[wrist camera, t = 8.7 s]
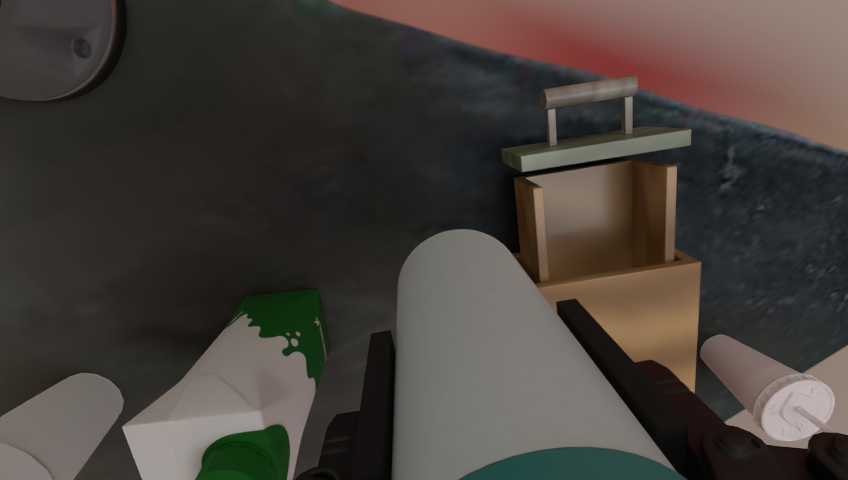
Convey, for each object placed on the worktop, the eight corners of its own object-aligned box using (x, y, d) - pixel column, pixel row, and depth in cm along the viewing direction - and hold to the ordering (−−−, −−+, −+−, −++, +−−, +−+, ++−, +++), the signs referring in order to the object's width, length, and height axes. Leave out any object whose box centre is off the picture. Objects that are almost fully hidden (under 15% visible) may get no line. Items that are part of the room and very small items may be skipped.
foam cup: (74, 445, 44) (-54, 573, 32) (24, 375, 42) (-137, 486, 29) (155, 420, 44) (56, 541, 32) (110, 348, 41) (-18, 449, 29)
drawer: (496, 97, 35) (515, 93, 29) (643, 73, 35) (694, 65, 29) (515, 294, 40) (534, 326, 34) (642, 274, 40) (684, 302, 34)
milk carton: (340, 356, 43) (287, 553, 24) (253, 366, 42) (128, 572, 23) (325, 277, 40) (253, 427, 21) (232, 288, 40) (74, 448, 21)
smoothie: (737, 313, 43) (887, 403, 30) (753, 359, 45) (900, 464, 32) (680, 339, 44) (800, 439, 30) (697, 384, 46) (818, 497, 32)
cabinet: (502, 254, 40) (526, 289, 32) (643, 232, 40) (701, 261, 32) (516, 386, 45) (540, 445, 37) (642, 366, 45) (693, 421, 37)
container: (383, 238, 20) (335, 538, 6) (516, 215, 20) (785, 461, 6) (407, 354, 22) (413, 785, 8) (528, 333, 22) (751, 728, 8)
